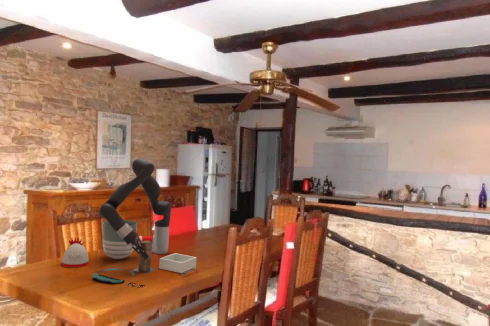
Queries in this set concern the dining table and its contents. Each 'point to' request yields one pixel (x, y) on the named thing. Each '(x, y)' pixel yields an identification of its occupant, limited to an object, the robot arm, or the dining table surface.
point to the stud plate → (144, 271)
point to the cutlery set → (110, 279)
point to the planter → (116, 241)
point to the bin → (178, 263)
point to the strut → (144, 263)
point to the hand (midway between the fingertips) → (148, 256)
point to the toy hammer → (146, 238)
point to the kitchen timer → (75, 255)
